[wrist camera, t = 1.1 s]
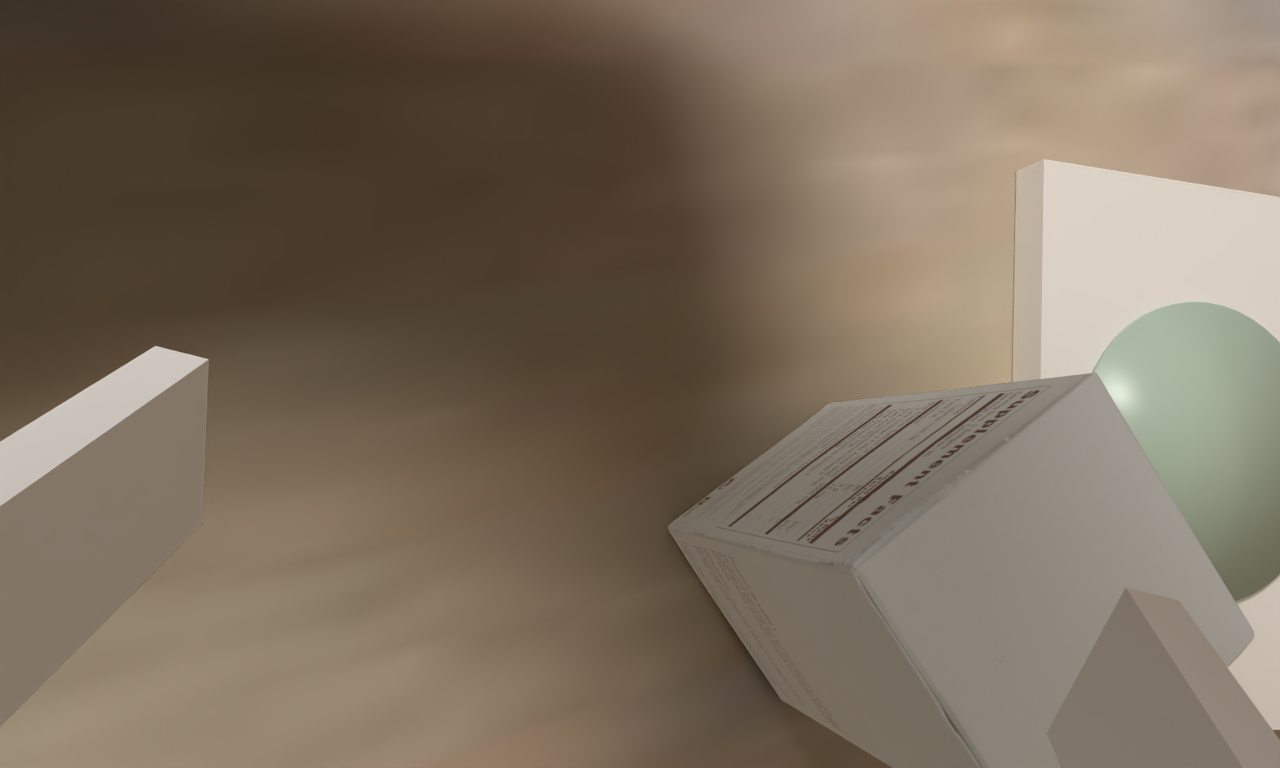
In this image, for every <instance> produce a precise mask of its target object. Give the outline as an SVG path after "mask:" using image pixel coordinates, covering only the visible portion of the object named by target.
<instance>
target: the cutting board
mask: <svg viewBox="0 0 1280 768" xmlns="http://www.w3.org/2000/svg"><path fill="white" fill-rule="evenodd" d="M1088 373H1096V374H1097V375H1098V376H1099V377H1100V379H1101V380H1102V382H1103V384H1104V386H1105V387H1106V389H1107V391H1108V392H1109V394H1110V396H1111V397H1112V399H1113V401H1114V403H1115V404H1116V406H1117V407H1118V409H1119V410H1120V412H1121V414H1122V415H1123V417H1124V419H1125V420H1126V422H1127V424H1128V425H1129V427H1130V429H1131V430H1132V432H1133V434H1134V436H1135V437H1136V439H1137V441H1138V442H1139V444H1140V446H1141V447H1142V449H1143V451H1144V452H1145V454H1146V455H1147V457H1148V459H1149V460H1150V462H1151V464H1152V465H1153V467H1154V469H1155V470H1156V472H1157V474H1158V475H1159V477H1160V478H1161V480H1162V482H1163V483H1164V485H1165V487H1166V488H1167V490H1168V492H1169V493H1170V495H1171V497H1172V498H1173V500H1174V502H1175V503H1176V505H1177V506H1178V508H1179V510H1180V511H1181V513H1182V515H1183V516H1184V518H1185V520H1186V521H1187V523H1188V525H1189V526H1190V528H1191V530H1192V531H1193V533H1194V535H1195V536H1196V538H1197V540H1198V541H1199V543H1200V545H1201V546H1202V548H1203V550H1204V551H1205V553H1206V555H1207V556H1208V558H1209V560H1210V561H1211V563H1212V564H1213V566H1214V568H1215V569H1216V571H1217V572H1218V574H1219V576H1220V577H1221V579H1222V580H1223V582H1224V584H1225V585H1226V587H1227V589H1228V590H1229V592H1230V594H1231V595H1232V597H1233V598H1234V600H1235V601H1236V603H1237V605H1238V606H1239V608H1240V609H1241V611H1242V613H1243V614H1244V616H1245V618H1246V619H1247V621H1248V622H1249V624H1250V625H1251V627H1252V629H1253V631H1254V639H1253V640H1252V641H1251V643H1250V644H1249V645H1248V646H1247V647H1246V649H1245V650H1244V651H1243V652H1242V653H1241V655H1240V656H1239V657H1238V658H1237V659H1236V660H1235V661H1234V662H1233V663H1232V664H1231V665H1230V666H1229V667H1228V669H1229V670H1230V672H1231V673H1232V674H1233V676H1234V677H1235V679H1236V680H1237V681H1238V683H1239V684H1240V686H1241V687H1242V688H1243V690H1244V691H1245V692H1246V694H1247V695H1248V697H1249V698H1250V699H1251V701H1252V702H1253V704H1254V705H1255V706H1256V708H1257V709H1258V710H1259V712H1260V713H1261V715H1262V716H1263V717H1264V719H1265V720H1266V722H1267V723H1268V724H1269V726H1270V727H1271V728H1272V730H1280V197H1276V196H1270V195H1264V194H1257V193H1251V192H1245V191H1239V190H1232V189H1226V188H1220V187H1214V186H1207V185H1201V184H1195V183H1189V182H1182V181H1176V180H1170V179H1164V178H1157V177H1151V176H1145V175H1139V174H1132V173H1126V172H1120V171H1114V170H1108V169H1101V168H1095V167H1089V166H1083V165H1076V164H1070V163H1064V162H1058V161H1051V160H1045V159H1044V160H1041V161H1039V162H1037V163H1034V164H1032V165H1030V166H1028V167H1025V168H1023V169H1021V170H1019V171H1016V212H1015V268H1014V323H1013V379H1012V382H1018V381H1026V380H1035V379H1046V378H1055V377H1063V376H1071V375H1080V374H1088Z"/></svg>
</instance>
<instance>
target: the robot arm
mask: <svg viewBox="0 0 1280 768" xmlns="http://www.w3.org/2000/svg"><path fill="white" fill-rule="evenodd" d="M208 372H209V359H206V358H202V357H198V356H194V355H190V354H186V353H182V352H178V351H174V350H170V349H166V348H162V347H158V346H155V347H153V348H151V349H150V350H148V351H146V352H145V353H143V354H142V355H140V356H138V357H137V358H135V359H133V360H132V361H130V362H129V363H127V364H125V365H124V366H122V367H120V368H119V369H117V370H116V371H114V372H112V373H111V374H109V375H107V376H106V377H104V378H103V379H101V380H99V381H98V382H96V383H94V384H93V385H91V386H90V387H88V388H86V389H85V390H83V391H81V392H80V393H78V394H77V395H75V396H73V397H72V398H70V399H68V400H67V401H65V402H64V403H62V404H60V405H59V406H57V407H55V408H54V409H52V410H51V411H49V412H47V413H46V414H44V415H42V416H41V417H39V418H38V419H36V420H34V421H33V422H31V423H29V424H28V425H26V426H25V427H23V428H21V429H20V430H18V431H16V432H15V433H13V434H12V435H10V436H8V437H7V438H5V439H3V440H2V441H0V726H1V725H2V724H3V723H4V722H5V721H6V720H7V719H8V718H9V717H10V716H11V715H12V714H13V713H14V712H15V711H16V710H17V709H18V708H19V707H20V706H21V705H22V704H23V703H24V702H25V701H26V700H27V699H28V698H29V697H30V696H31V695H32V694H33V693H34V692H35V691H36V690H37V689H38V688H39V687H40V686H41V685H42V684H43V683H44V682H45V681H46V680H47V679H48V678H49V677H50V676H51V675H52V674H53V673H54V672H55V671H56V670H57V669H58V668H59V667H60V666H61V665H62V664H63V663H64V662H65V661H66V660H67V659H68V658H69V657H70V656H71V655H72V654H73V653H74V652H75V651H76V650H77V649H78V648H79V647H80V646H81V645H82V644H83V643H84V642H85V641H86V640H87V639H88V638H89V637H90V636H91V635H92V634H93V633H94V632H95V631H96V630H97V629H98V628H99V627H100V626H101V625H102V624H103V623H104V622H105V621H106V620H107V619H108V618H109V617H110V616H111V615H112V614H113V613H114V612H115V611H116V610H117V609H118V608H119V607H120V606H121V605H122V604H123V603H124V602H125V601H126V600H127V599H128V598H129V597H130V596H131V595H132V594H133V593H134V592H135V591H136V590H137V589H138V588H139V587H140V586H141V585H142V584H143V583H144V582H145V581H146V580H147V579H148V578H149V577H150V576H151V575H152V574H153V573H154V572H155V571H156V570H157V569H158V568H159V567H160V566H161V565H162V564H163V563H164V562H165V561H166V560H167V559H168V558H169V557H170V556H171V555H172V554H173V553H174V552H175V551H176V550H177V549H178V548H179V547H180V546H181V545H182V544H183V543H184V542H185V541H186V540H187V539H188V538H189V537H190V536H191V535H192V534H193V533H194V532H195V531H196V530H197V529H198V528H199V527H200V526H201V525H202V524H203V506H204V479H205V453H206V426H207V399H208ZM1047 735H1048V738H1049V740H1050V742H1051V745H1052V747H1053V750H1054V752H1055V754H1056V757H1057V759H1058V762H1059V764H1060V766H1061V768H1280V740H1279V738H1278V737H1277V735H1276V734H1275V733H1274V731H1273V730H1272V728H1271V727H1270V726H1269V724H1268V723H1267V722H1266V720H1265V719H1264V717H1263V716H1262V715H1261V713H1260V712H1259V710H1258V709H1257V708H1256V706H1255V705H1254V704H1253V702H1252V701H1251V699H1250V698H1249V697H1248V695H1247V694H1246V692H1245V691H1244V690H1243V688H1242V687H1241V686H1240V684H1239V683H1238V681H1237V680H1236V679H1235V677H1234V676H1233V674H1232V673H1231V672H1230V670H1229V669H1228V668H1227V666H1226V665H1225V663H1224V662H1223V661H1222V659H1221V658H1220V656H1219V655H1218V654H1217V652H1216V651H1215V649H1214V648H1213V647H1212V645H1211V644H1210V643H1209V641H1208V640H1207V638H1206V637H1205V636H1204V634H1203V633H1202V631H1201V630H1200V629H1199V627H1198V626H1197V625H1196V623H1195V622H1194V620H1193V619H1192V618H1191V616H1190V615H1189V613H1188V612H1187V611H1186V609H1185V608H1184V607H1183V605H1182V604H1181V602H1180V601H1179V600H1175V599H1171V598H1167V597H1163V596H1159V595H1155V594H1151V593H1147V592H1143V591H1139V590H1135V589H1131V588H1127V587H1126V588H1125V589H1124V591H1123V593H1122V595H1121V597H1120V599H1119V600H1118V602H1117V604H1116V606H1115V608H1114V610H1113V612H1112V613H1111V615H1110V617H1109V619H1108V621H1107V623H1106V624H1105V626H1104V628H1103V630H1102V632H1101V634H1100V636H1099V637H1098V639H1097V641H1096V643H1095V645H1094V647H1093V648H1092V650H1091V652H1090V654H1089V656H1088V658H1087V660H1086V661H1085V663H1084V665H1083V667H1082V669H1081V671H1080V672H1079V674H1078V676H1077V678H1076V680H1075V682H1074V683H1073V685H1072V687H1071V689H1070V691H1069V693H1068V695H1067V696H1066V698H1065V700H1064V702H1063V704H1062V706H1061V707H1060V709H1059V711H1058V713H1057V715H1056V717H1055V719H1054V720H1053V722H1052V724H1051V726H1050V728H1049V730H1048V731H1047Z"/></svg>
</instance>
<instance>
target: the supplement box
mask: <svg viewBox="0 0 1280 768" xmlns="http://www.w3.org/2000/svg"><path fill="white" fill-rule="evenodd" d="M668 530H669V532H670V534H671V535H672V537H673V538H674V540H675V541H676V543H677V545H678V546H679V548H680V549H681V551H682V552H683V554H684V556H685V557H686V559H687V560H688V562H689V564H690V565H691V567H692V568H693V570H694V571H695V573H696V574H697V576H698V577H699V579H700V580H701V582H702V583H703V585H704V586H705V588H706V589H707V591H708V592H709V594H710V595H711V597H712V598H713V600H714V601H715V603H716V604H717V606H718V607H719V609H720V610H721V611H722V613H723V614H724V616H725V617H726V619H727V620H728V622H729V623H730V625H731V626H732V628H733V629H734V631H735V632H736V634H737V635H738V637H739V638H740V640H741V641H742V643H743V644H744V646H745V647H746V649H747V650H748V651H749V653H750V654H751V656H752V657H753V659H754V660H755V662H756V663H757V665H758V666H759V668H760V669H761V671H762V672H763V674H764V675H765V677H766V678H767V680H768V681H769V683H770V684H771V686H772V687H773V688H774V690H775V691H776V693H777V695H778V696H779V698H780V699H781V700H782V701H783V702H786V703H788V704H789V705H791V706H792V707H794V708H796V709H797V710H799V711H800V712H802V713H804V714H805V715H806V716H808V717H810V718H811V719H813V720H815V721H816V722H818V723H820V724H822V725H823V726H825V727H826V728H828V729H830V730H831V731H833V732H835V733H836V734H838V735H840V736H841V737H843V738H844V739H846V740H848V741H849V742H851V743H853V744H854V745H856V746H857V747H859V748H861V749H862V750H864V751H866V752H867V753H869V754H870V755H872V756H874V757H875V758H877V759H878V760H880V761H882V762H883V763H885V764H887V765H888V766H890V767H891V768H1061V766H1060V764H1059V762H1058V759H1057V757H1056V754H1055V752H1054V750H1053V747H1052V745H1051V742H1050V740H1049V738H1048V735H1047V731H1048V730H1049V728H1050V726H1051V724H1052V722H1053V720H1054V719H1055V717H1056V715H1057V713H1058V711H1059V709H1060V707H1061V706H1062V704H1063V702H1064V700H1065V698H1066V696H1067V695H1068V693H1069V691H1070V689H1071V687H1072V685H1073V683H1074V682H1075V680H1076V678H1077V676H1078V674H1079V672H1080V671H1081V669H1082V667H1083V665H1084V663H1085V661H1086V660H1087V658H1088V656H1089V654H1090V652H1091V650H1092V648H1093V647H1094V645H1095V643H1096V641H1097V639H1098V637H1099V636H1100V634H1101V632H1102V630H1103V628H1104V626H1105V624H1106V623H1107V621H1108V619H1109V617H1110V615H1111V613H1112V612H1113V610H1114V608H1115V606H1116V604H1117V602H1118V600H1119V599H1120V597H1121V595H1122V593H1123V591H1124V589H1125V588H1126V587H1127V588H1131V589H1135V590H1139V591H1143V592H1147V593H1151V594H1155V595H1159V596H1163V597H1167V598H1171V599H1175V600H1179V601H1180V602H1181V604H1182V605H1183V607H1184V608H1185V609H1186V611H1187V612H1188V613H1189V615H1190V616H1191V618H1192V619H1193V620H1194V622H1195V623H1196V625H1197V626H1198V627H1199V629H1200V630H1201V631H1202V633H1203V634H1204V636H1205V637H1206V638H1207V640H1208V641H1209V643H1210V644H1211V645H1212V647H1213V648H1214V649H1215V651H1216V652H1217V654H1218V655H1219V656H1220V658H1221V659H1222V661H1223V662H1224V663H1225V665H1226V666H1227V668H1228V667H1229V666H1230V665H1231V664H1232V663H1233V662H1234V661H1235V660H1236V659H1237V658H1238V657H1239V656H1240V655H1241V653H1242V652H1243V651H1244V650H1245V649H1246V647H1247V646H1248V645H1249V644H1250V643H1251V641H1252V640H1253V639H1254V631H1253V629H1252V627H1251V625H1250V624H1249V622H1248V621H1247V619H1246V618H1245V616H1244V614H1243V613H1242V611H1241V609H1240V608H1239V606H1238V605H1237V603H1236V601H1235V600H1234V598H1233V597H1232V595H1231V594H1230V592H1229V590H1228V589H1227V587H1226V585H1225V584H1224V582H1223V580H1222V579H1221V577H1220V576H1219V574H1218V572H1217V571H1216V569H1215V568H1214V566H1213V564H1212V563H1211V561H1210V560H1209V558H1208V556H1207V555H1206V553H1205V551H1204V550H1203V548H1202V546H1201V545H1200V543H1199V541H1198V540H1197V538H1196V536H1195V535H1194V533H1193V531H1192V530H1191V528H1190V526H1189V525H1188V523H1187V521H1186V520H1185V518H1184V516H1183V515H1182V513H1181V511H1180V510H1179V508H1178V506H1177V505H1176V503H1175V502H1174V500H1173V498H1172V497H1171V495H1170V493H1169V492H1168V490H1167V488H1166V487H1165V485H1164V483H1163V482H1162V480H1161V478H1160V477H1159V475H1158V474H1157V472H1156V470H1155V469H1154V467H1153V465H1152V464H1151V462H1150V460H1149V459H1148V457H1147V455H1146V454H1145V452H1144V451H1143V449H1142V447H1141V446H1140V444H1139V442H1138V441H1137V439H1136V437H1135V436H1134V434H1133V432H1132V430H1131V429H1130V427H1129V425H1128V424H1127V422H1126V420H1125V419H1124V417H1123V415H1122V414H1121V412H1120V410H1119V409H1118V407H1117V406H1116V404H1115V403H1114V401H1113V399H1112V397H1111V396H1110V394H1109V392H1108V391H1107V389H1106V387H1105V386H1104V384H1103V382H1102V380H1101V379H1100V377H1099V376H1098V375H1097V374H1096V373H1088V374H1080V375H1071V376H1063V377H1055V378H1046V379H1035V380H1026V381H1018V382H1009V383H1002V384H992V385H984V386H976V387H967V388H960V389H953V390H942V391H933V392H925V393H915V394H905V395H896V396H887V397H878V398H868V399H859V400H850V401H841V402H834V403H829V404H827V405H826V406H825V407H823V408H822V409H821V410H820V411H819V412H817V413H816V414H815V415H813V416H812V417H811V418H809V419H808V420H807V421H806V422H804V423H803V424H802V425H800V426H799V427H798V428H796V429H795V430H794V431H792V432H791V433H790V434H788V435H787V436H786V437H784V438H783V439H782V440H780V441H779V442H778V443H777V444H775V445H774V446H773V447H771V448H770V449H769V450H767V451H766V452H765V453H763V454H762V455H760V456H759V457H758V458H756V459H755V460H754V461H752V462H751V463H750V464H748V465H747V466H746V467H744V468H743V469H742V470H740V471H739V472H738V473H736V474H735V475H734V476H733V477H731V478H730V479H728V480H727V481H726V482H724V483H723V484H722V485H720V486H719V487H718V488H716V489H715V490H714V491H712V492H711V493H710V494H709V495H707V496H706V497H704V498H703V499H702V500H700V501H699V502H698V503H697V504H696V505H694V506H693V507H692V508H690V509H689V510H687V511H686V512H685V513H683V514H682V515H681V516H679V517H678V518H677V519H675V520H674V521H673V522H671V523H670V524H669V525H668Z"/></svg>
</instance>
